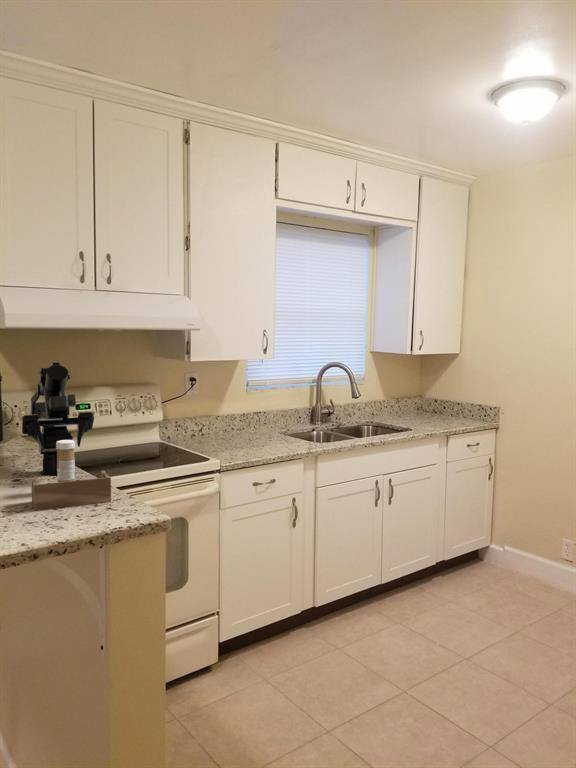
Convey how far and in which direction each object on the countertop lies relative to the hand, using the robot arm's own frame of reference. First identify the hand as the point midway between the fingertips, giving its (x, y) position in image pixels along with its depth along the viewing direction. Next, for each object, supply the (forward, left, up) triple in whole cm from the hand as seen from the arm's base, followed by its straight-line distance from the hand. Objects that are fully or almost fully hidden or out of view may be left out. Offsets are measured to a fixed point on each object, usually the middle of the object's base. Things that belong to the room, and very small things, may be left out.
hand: (61, 447), depth 163 cm
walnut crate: (+12, +13, -10) cm, 20 cm away
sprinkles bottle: (+5, +5, -11) cm, 13 cm away
